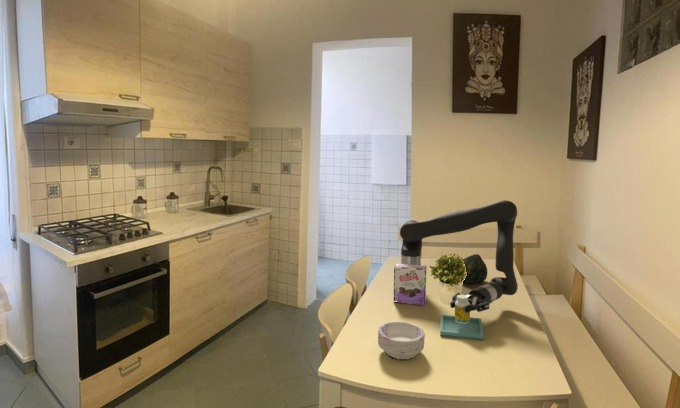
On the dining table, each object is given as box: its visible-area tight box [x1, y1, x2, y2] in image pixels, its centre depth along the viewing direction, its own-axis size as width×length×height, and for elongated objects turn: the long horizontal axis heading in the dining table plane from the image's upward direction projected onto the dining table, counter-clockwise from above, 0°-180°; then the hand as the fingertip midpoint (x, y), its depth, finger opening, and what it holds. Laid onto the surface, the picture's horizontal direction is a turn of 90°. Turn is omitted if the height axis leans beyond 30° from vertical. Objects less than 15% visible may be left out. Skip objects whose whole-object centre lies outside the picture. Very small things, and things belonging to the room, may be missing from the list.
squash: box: [462, 253, 488, 284], centre depth 205 cm, size 14×15×15 cm
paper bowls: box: [377, 320, 426, 360], centre depth 135 cm, size 15×15×8 cm
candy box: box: [393, 263, 428, 306], centre depth 179 cm, size 14×6×16 cm, turn 74°
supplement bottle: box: [454, 294, 471, 324], centre depth 152 cm, size 5×5×10 cm
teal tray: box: [439, 314, 485, 341], centre depth 153 cm, size 15×15×2 cm
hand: (458, 307), depth 150 cm, fingers closed on supplement bottle, 5 cm apart
